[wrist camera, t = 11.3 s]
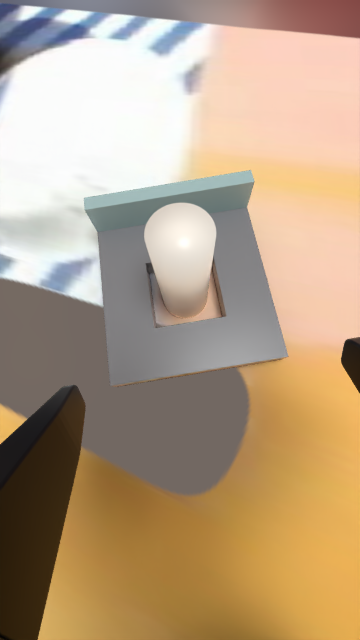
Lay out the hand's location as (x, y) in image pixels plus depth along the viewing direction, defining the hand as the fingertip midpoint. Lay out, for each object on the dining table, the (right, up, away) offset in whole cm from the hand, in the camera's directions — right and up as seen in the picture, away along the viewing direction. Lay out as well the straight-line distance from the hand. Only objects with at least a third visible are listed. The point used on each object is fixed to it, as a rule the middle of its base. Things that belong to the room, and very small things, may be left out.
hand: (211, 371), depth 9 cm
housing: (-1, +4, +15) cm, 16 cm away
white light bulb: (-1, +4, +15) cm, 16 cm away
